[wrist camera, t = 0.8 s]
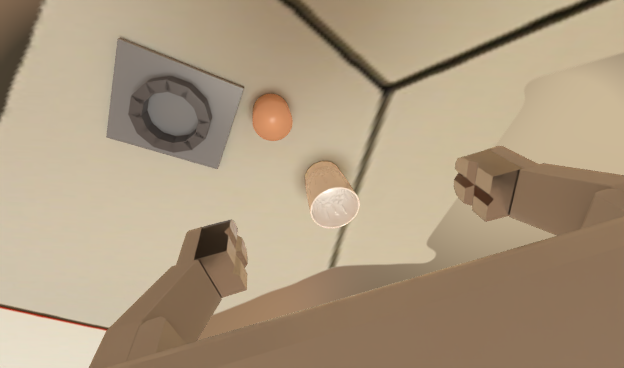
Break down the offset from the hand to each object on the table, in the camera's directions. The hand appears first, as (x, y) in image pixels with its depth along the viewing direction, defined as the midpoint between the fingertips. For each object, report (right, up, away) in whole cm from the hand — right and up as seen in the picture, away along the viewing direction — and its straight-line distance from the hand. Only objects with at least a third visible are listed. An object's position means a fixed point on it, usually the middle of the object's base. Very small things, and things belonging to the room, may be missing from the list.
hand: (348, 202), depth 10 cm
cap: (-8, +12, +34) cm, 37 cm away
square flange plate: (-21, +11, +31) cm, 40 cm away
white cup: (+1, +2, +42) cm, 42 cm away
